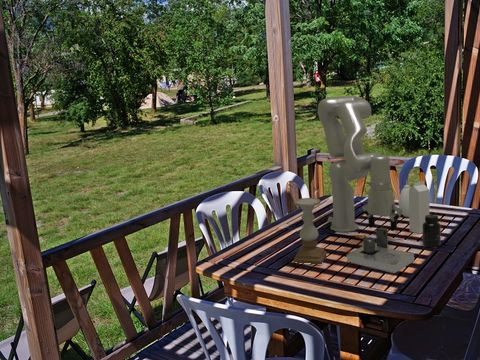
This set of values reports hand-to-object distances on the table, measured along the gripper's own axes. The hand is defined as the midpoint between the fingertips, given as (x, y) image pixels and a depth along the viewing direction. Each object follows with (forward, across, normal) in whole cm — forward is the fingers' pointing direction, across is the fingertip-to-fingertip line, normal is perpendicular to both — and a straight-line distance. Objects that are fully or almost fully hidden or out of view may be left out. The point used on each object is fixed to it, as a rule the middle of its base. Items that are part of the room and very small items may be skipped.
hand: (382, 228), depth 209 cm
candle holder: (+9, -17, -26) cm, 32 cm away
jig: (+9, +6, -12) cm, 16 cm away
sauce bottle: (+8, -14, +44) cm, 47 cm away
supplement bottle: (+9, +13, +14) cm, 21 cm away
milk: (+8, +1, +28) cm, 29 cm away
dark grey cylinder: (+8, -1, 0) cm, 9 cm away
